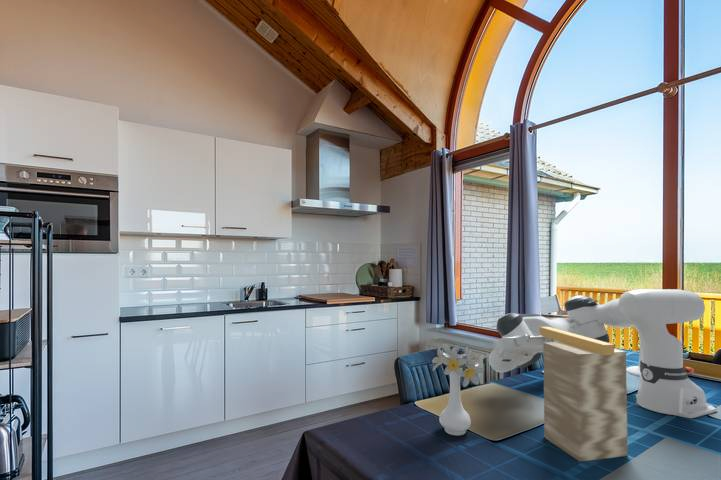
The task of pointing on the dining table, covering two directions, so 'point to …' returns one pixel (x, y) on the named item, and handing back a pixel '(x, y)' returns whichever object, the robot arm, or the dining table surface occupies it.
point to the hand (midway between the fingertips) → (542, 336)
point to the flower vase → (457, 386)
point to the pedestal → (585, 401)
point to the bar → (578, 340)
